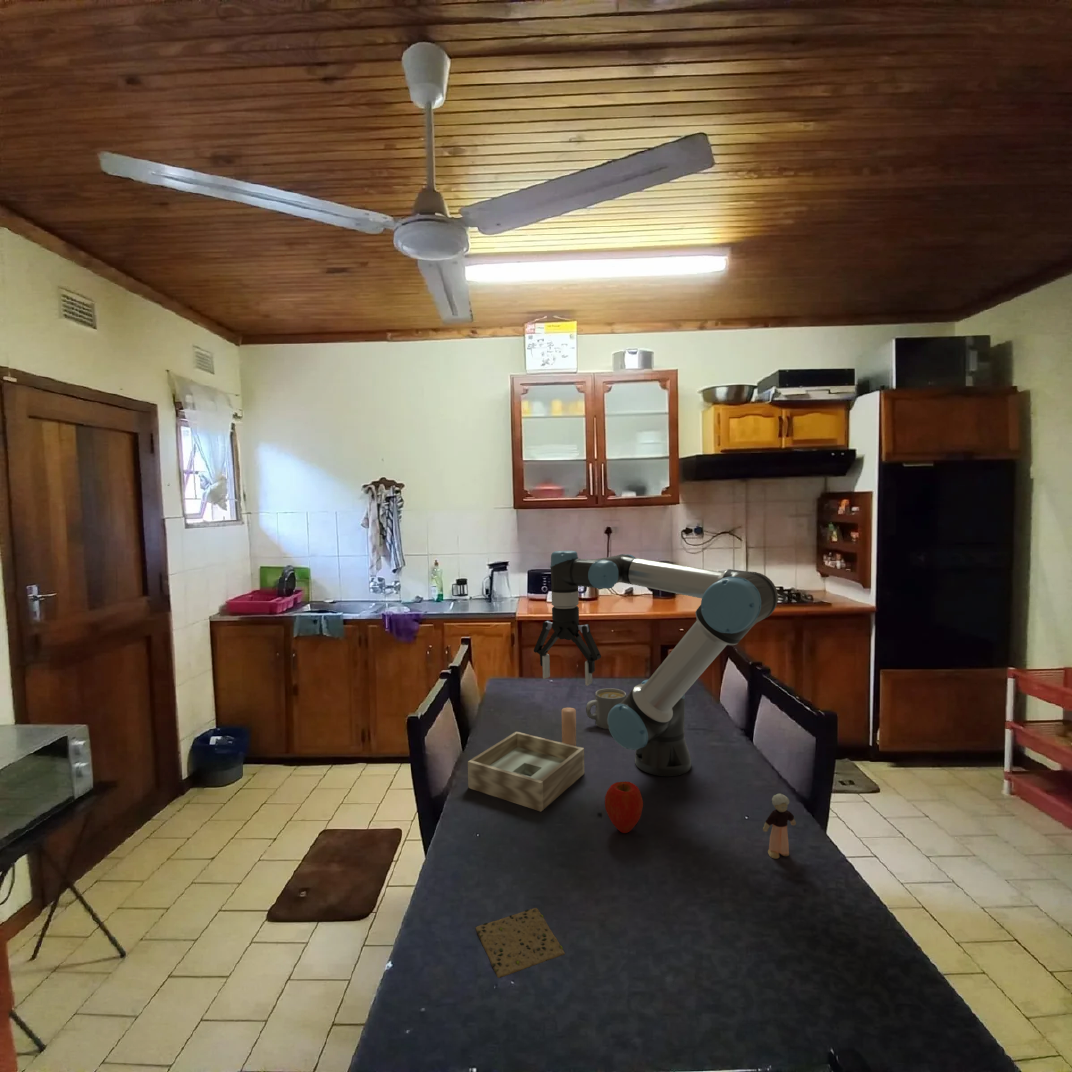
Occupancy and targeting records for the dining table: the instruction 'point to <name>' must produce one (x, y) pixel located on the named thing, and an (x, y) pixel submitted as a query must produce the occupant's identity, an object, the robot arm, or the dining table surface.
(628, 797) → the apple
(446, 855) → the dining table surface
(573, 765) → the box
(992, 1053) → the dining table surface
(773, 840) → the grandmother figurine
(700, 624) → the robot arm
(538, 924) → the cookie
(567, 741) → the peg
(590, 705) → the coffee mug
